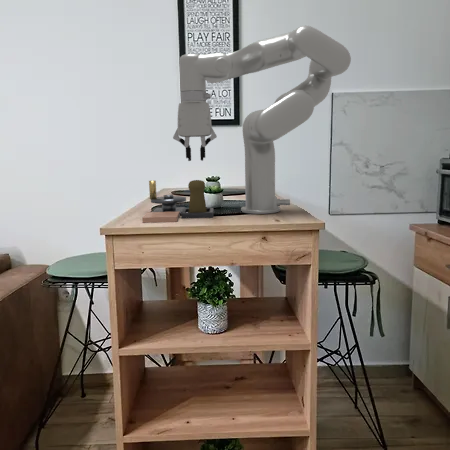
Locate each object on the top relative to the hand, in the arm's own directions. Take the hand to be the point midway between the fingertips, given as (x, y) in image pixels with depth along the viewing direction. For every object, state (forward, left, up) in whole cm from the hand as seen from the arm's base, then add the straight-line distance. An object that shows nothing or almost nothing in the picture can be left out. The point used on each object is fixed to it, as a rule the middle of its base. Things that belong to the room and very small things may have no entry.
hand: (195, 159), depth 141 cm
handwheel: (+10, -10, -14) cm, 20 cm away
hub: (+10, -10, -17) cm, 22 cm away
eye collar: (0, 0, -17) cm, 17 cm away
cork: (0, 0, -17) cm, 17 cm away
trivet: (+11, +6, -17) cm, 21 cm away
